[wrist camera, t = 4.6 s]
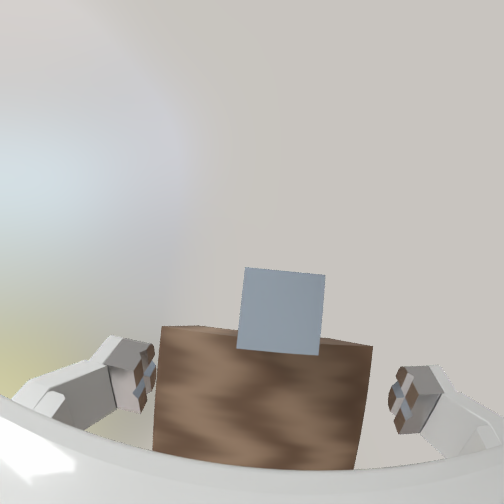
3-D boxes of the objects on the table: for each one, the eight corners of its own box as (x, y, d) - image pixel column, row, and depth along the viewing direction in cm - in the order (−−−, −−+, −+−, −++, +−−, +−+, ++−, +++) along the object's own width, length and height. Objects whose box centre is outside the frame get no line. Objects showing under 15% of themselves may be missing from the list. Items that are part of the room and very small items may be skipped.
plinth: (155, 588, 15) (161, 326, 20) (183, 521, 29) (198, 325, 34) (311, 602, 14) (373, 346, 20) (296, 531, 28) (328, 338, 34)
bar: (236, 348, 11) (245, 267, 12) (250, 330, 37) (253, 305, 37) (318, 355, 11) (325, 274, 12) (276, 333, 37) (278, 307, 37)
